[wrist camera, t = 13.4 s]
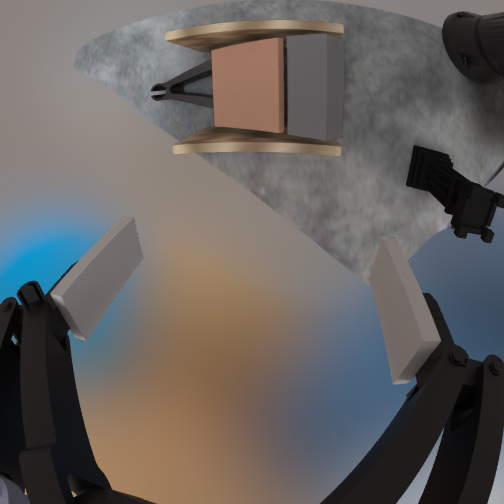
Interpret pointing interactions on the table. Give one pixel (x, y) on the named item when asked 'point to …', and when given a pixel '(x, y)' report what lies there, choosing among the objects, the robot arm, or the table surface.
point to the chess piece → (454, 193)
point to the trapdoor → (281, 86)
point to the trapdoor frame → (250, 139)
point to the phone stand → (178, 83)
